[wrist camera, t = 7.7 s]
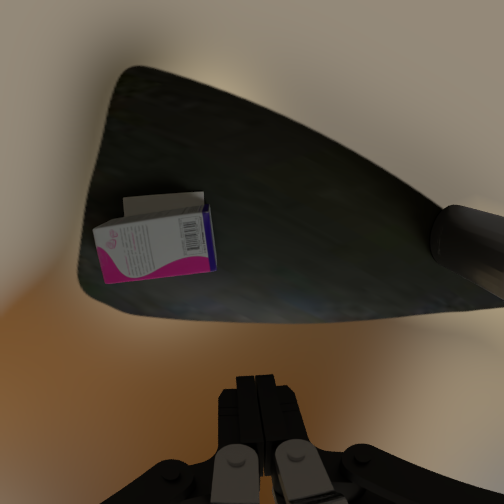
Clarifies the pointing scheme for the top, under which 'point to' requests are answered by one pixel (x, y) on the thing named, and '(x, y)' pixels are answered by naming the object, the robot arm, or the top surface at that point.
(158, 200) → the mat
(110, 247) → the supplement box
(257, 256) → the top surface
